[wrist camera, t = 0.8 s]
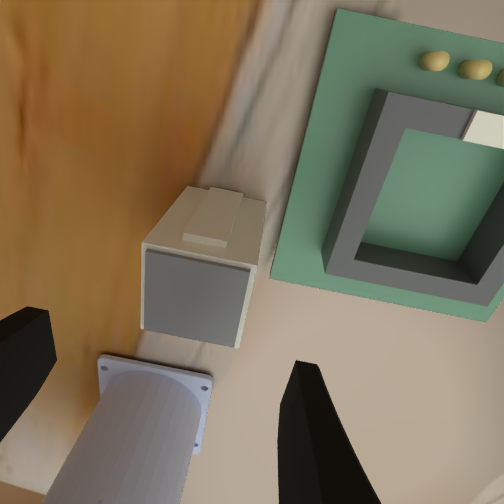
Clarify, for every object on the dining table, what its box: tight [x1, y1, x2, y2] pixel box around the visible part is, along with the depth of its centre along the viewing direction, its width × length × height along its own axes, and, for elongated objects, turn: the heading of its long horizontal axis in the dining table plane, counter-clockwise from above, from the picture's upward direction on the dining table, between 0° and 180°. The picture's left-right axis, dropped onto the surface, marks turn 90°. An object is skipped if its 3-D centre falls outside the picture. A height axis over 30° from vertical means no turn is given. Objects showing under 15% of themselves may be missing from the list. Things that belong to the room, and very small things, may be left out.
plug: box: [141, 186, 267, 348], centre depth 15 cm, size 4×4×6 cm
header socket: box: [270, 8, 504, 322], centre depth 14 cm, size 12×12×3 cm
